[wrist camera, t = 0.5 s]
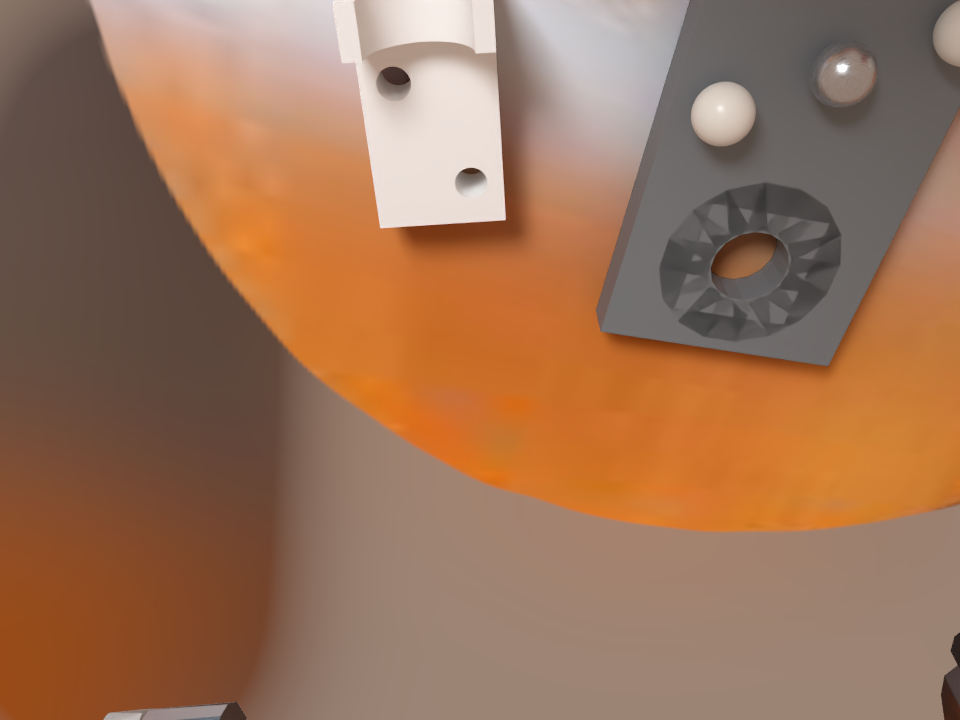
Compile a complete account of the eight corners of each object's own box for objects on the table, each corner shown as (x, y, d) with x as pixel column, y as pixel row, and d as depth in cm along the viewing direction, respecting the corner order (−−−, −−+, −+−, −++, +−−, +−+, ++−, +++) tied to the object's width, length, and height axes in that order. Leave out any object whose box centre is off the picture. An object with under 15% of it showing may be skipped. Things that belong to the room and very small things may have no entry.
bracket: (352, -33, 44) (332, 3, 38) (490, -43, 44) (492, -9, 38) (385, 201, 52) (373, 262, 46) (504, 193, 52) (507, 254, 46)
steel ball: (815, 27, 43) (837, 45, 41) (875, 38, 44) (900, 57, 41) (790, 89, 45) (810, 110, 43) (848, 100, 46) (871, 122, 43)
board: (734, -148, 41) (748, -142, 39) (1025, -85, 43) (1052, -77, 41) (596, 310, 56) (600, 331, 54) (815, 344, 58) (828, 366, 56)
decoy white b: (696, 68, 45) (710, 88, 42) (755, 79, 45) (772, 99, 42) (677, 127, 46) (689, 150, 44) (734, 137, 47) (749, 160, 44)
